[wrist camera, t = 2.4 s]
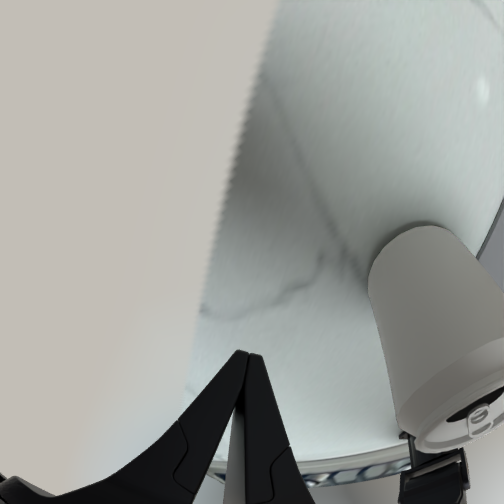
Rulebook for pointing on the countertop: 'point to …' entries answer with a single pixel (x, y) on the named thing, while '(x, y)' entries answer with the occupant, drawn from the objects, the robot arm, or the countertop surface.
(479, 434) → the can
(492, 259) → the mat
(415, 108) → the countertop surface
